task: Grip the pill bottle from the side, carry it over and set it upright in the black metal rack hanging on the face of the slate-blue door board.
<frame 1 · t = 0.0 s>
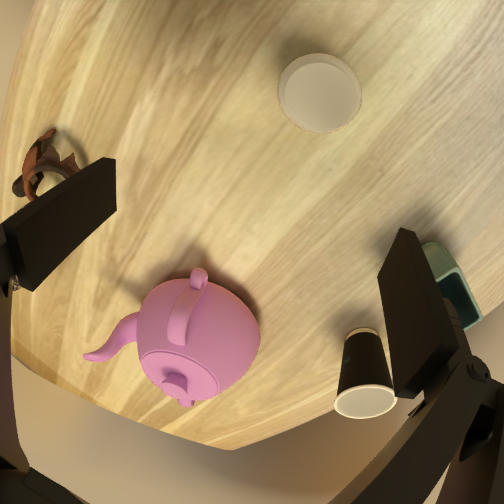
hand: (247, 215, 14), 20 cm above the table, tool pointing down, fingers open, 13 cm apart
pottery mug: (60, 163, 37), on the table
teapot: (190, 310, 47), on the table
dixie cup: (362, 338, 44), on the table
flower pot: (418, 264, 35), on the table
pill bottle: (319, 87, 27), on the table
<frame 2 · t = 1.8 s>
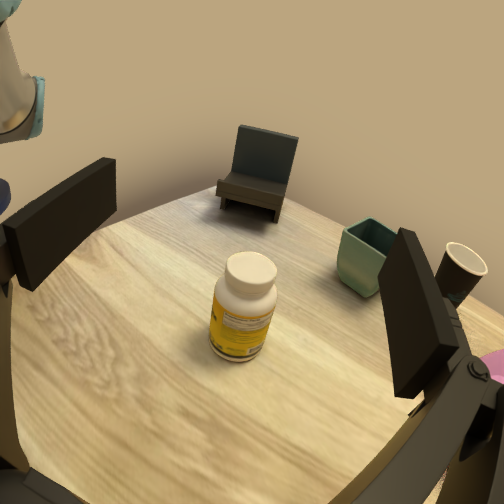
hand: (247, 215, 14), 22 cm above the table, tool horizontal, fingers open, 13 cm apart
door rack: (249, 213, 61), on the table
teapot: (481, 448, 26), on the table
dixie cup: (434, 311, 46), on the table
flower pot: (359, 285, 49), on the table
pill bottle: (234, 342, 36), on the table
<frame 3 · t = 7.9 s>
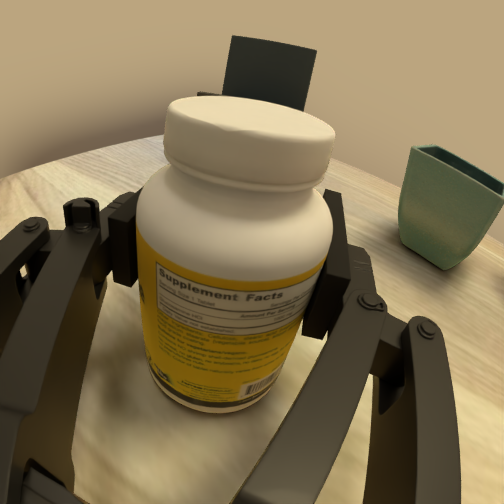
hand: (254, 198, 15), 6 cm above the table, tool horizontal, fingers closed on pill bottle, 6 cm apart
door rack: (247, 154, 40), on the table
flower pot: (428, 252, 28), on the table
pill bottle: (211, 362, 15), on the table, touching gripper
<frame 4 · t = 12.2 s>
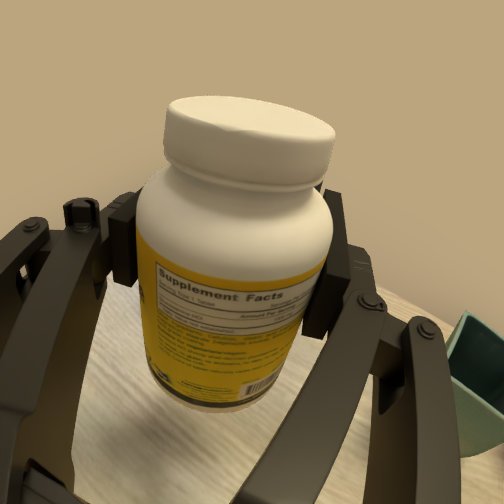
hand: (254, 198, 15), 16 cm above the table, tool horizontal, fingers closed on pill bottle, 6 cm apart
flower pot: (432, 425, 23), on the table
pill bottle: (211, 362, 15), point 10 cm above the table, touching gripper
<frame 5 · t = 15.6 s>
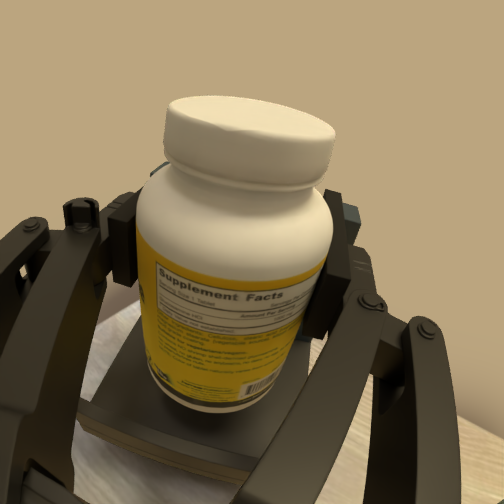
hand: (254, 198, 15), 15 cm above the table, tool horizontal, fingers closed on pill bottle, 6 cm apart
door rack: (205, 414, 21), on the table
pill bottle: (211, 362, 15), point 9 cm above the table, touching gripper
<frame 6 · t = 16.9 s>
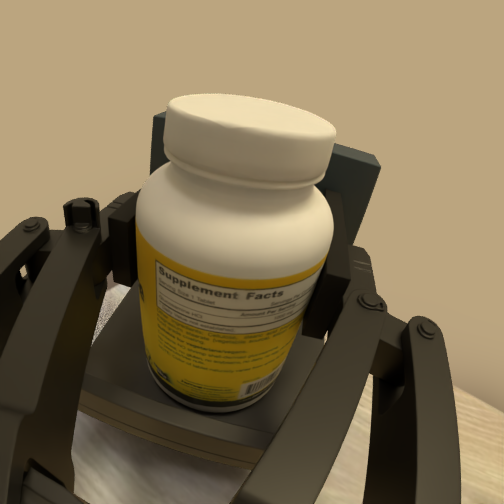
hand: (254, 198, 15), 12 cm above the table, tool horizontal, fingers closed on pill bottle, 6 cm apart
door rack: (208, 394, 19), on the table
pill bottle: (211, 361, 15), point 6 cm above the table, touching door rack, gripper
when the fingers open (12 cm above the table, at t = 16.9 s): pill bottle stays where it is, resting on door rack.
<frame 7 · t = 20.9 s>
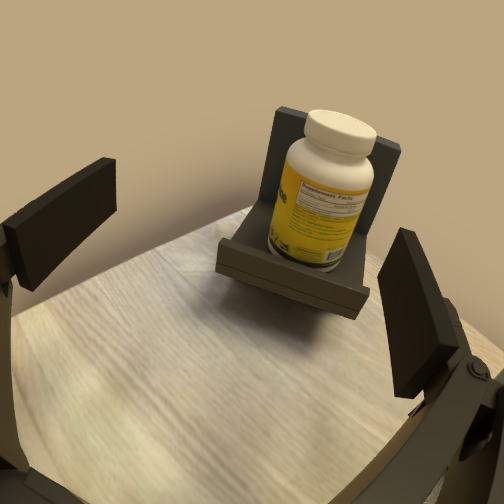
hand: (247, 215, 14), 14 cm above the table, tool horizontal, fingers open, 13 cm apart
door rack: (288, 288, 31), on the table
pill bottle: (302, 252, 26), point 6 cm above the table, touching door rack
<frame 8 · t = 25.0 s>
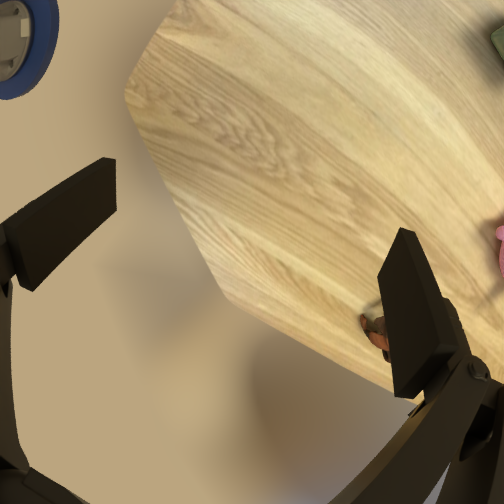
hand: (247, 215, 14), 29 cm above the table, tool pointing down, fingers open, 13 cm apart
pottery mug: (388, 318, 52), on the table
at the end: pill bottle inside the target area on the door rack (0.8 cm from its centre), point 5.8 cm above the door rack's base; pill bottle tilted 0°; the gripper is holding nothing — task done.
